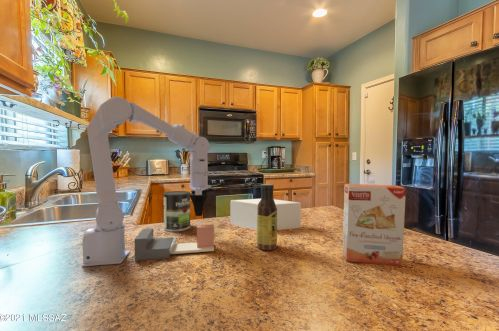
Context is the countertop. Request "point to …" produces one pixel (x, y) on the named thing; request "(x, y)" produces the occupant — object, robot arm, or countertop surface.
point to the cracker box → (374, 223)
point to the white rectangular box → (247, 213)
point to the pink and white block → (198, 241)
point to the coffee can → (176, 211)
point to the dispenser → (152, 246)
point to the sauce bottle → (267, 219)
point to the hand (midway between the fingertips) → (199, 212)
